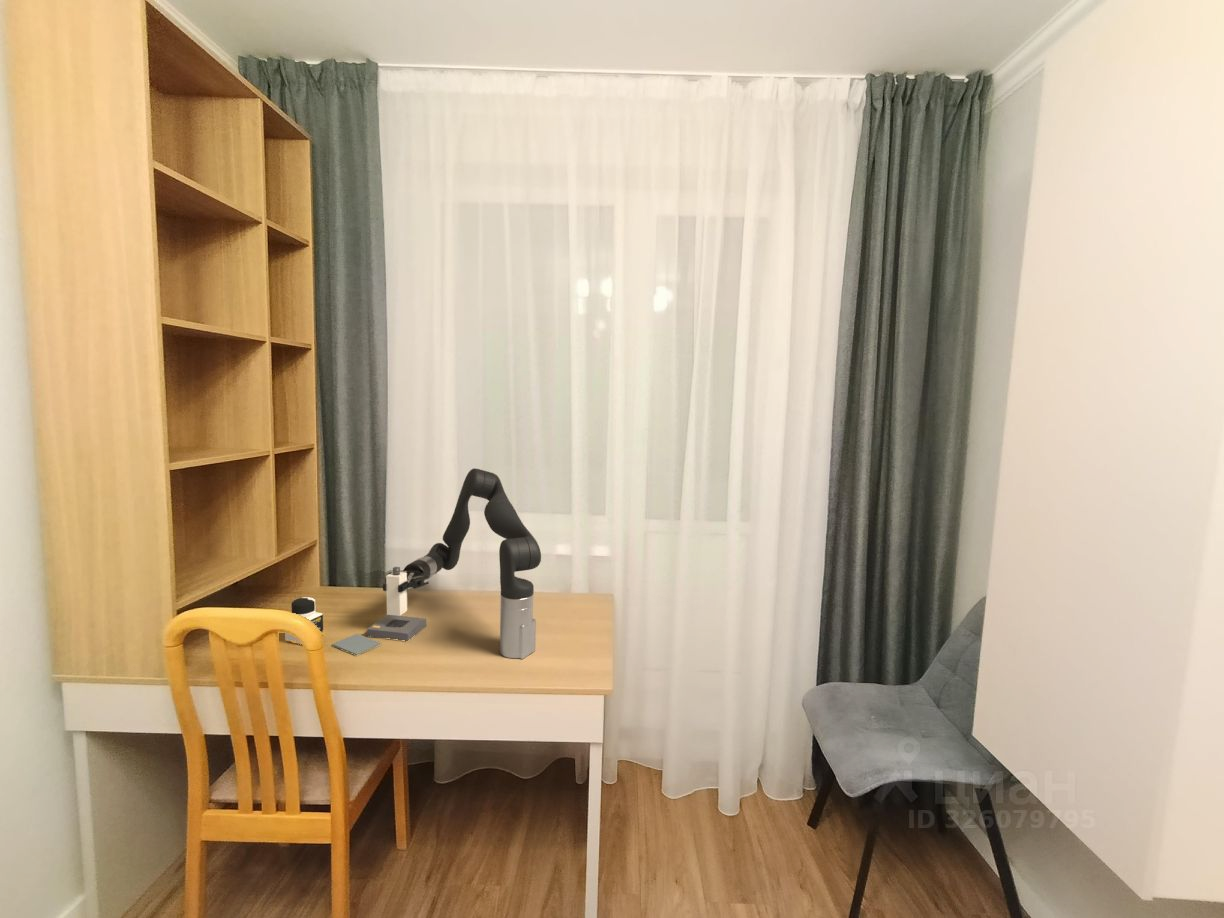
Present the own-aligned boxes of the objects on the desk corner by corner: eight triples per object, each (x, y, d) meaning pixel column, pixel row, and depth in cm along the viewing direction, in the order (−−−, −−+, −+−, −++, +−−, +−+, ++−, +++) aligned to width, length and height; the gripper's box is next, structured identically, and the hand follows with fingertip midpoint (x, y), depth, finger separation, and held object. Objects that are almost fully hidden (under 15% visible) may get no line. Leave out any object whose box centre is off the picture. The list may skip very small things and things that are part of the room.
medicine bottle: (303, 646, 158) (302, 605, 156) (284, 641, 160) (283, 601, 159) (324, 636, 165) (322, 597, 163) (305, 631, 167) (304, 593, 165)
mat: (381, 645, 160) (381, 643, 160) (356, 656, 153) (356, 654, 153) (356, 635, 166) (356, 633, 166) (331, 645, 159) (331, 643, 159)
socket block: (426, 626, 174) (426, 617, 173) (407, 641, 163) (407, 632, 163) (387, 621, 176) (387, 613, 175) (367, 636, 165) (367, 628, 165)
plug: (407, 610, 170) (406, 566, 168) (399, 615, 166) (399, 570, 164) (394, 609, 171) (393, 565, 169) (386, 614, 167) (386, 569, 165)
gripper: (400, 557, 182) (369, 574, 165) (440, 561, 180) (413, 578, 163) (400, 579, 183) (369, 598, 166) (441, 583, 181) (414, 602, 164)
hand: (391, 588), depth 165 cm, fingers closed on plug, 4 cm apart
